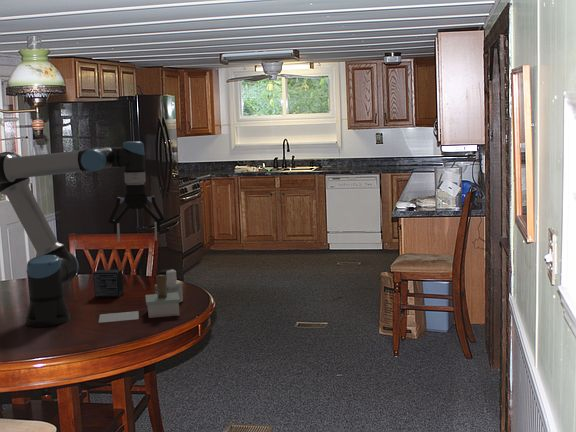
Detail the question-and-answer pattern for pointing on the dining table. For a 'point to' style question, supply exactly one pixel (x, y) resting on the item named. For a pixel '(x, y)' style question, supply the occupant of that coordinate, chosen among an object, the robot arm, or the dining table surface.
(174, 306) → the dish
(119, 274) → the small box
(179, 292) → the container
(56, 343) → the dining table surface
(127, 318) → the mat
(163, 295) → the lid
